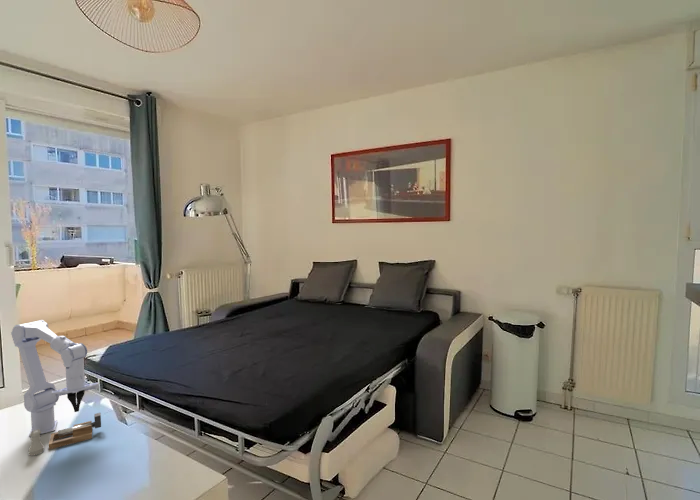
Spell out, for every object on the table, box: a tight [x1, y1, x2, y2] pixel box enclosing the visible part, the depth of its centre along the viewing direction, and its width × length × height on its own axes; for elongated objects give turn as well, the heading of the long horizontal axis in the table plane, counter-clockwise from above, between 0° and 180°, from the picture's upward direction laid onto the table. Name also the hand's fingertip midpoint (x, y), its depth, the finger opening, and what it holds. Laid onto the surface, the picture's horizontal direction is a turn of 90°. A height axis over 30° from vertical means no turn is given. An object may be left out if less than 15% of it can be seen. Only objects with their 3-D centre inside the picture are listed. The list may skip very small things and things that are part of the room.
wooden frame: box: [48, 420, 93, 450], centre depth 143 cm, size 9×13×4 cm
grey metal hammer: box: [57, 412, 102, 436], centre depth 145 cm, size 3×14×5 cm, turn 124°
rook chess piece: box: [27, 429, 45, 457], centre depth 134 cm, size 4×4×8 cm
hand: (76, 410), depth 144 cm, fingers closed
